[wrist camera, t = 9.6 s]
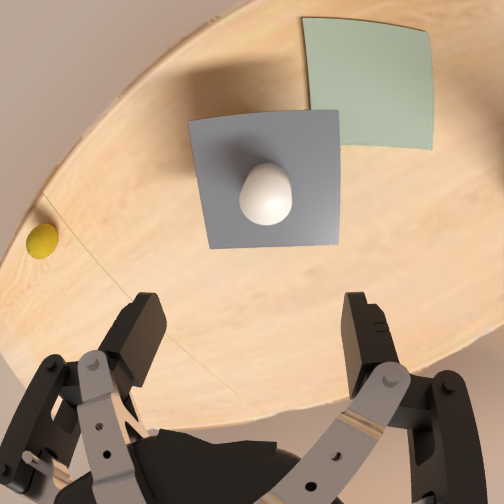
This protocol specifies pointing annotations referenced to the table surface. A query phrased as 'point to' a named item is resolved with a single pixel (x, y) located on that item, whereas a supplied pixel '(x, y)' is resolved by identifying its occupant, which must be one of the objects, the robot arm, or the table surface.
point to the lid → (269, 178)
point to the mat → (372, 81)
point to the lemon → (42, 241)
